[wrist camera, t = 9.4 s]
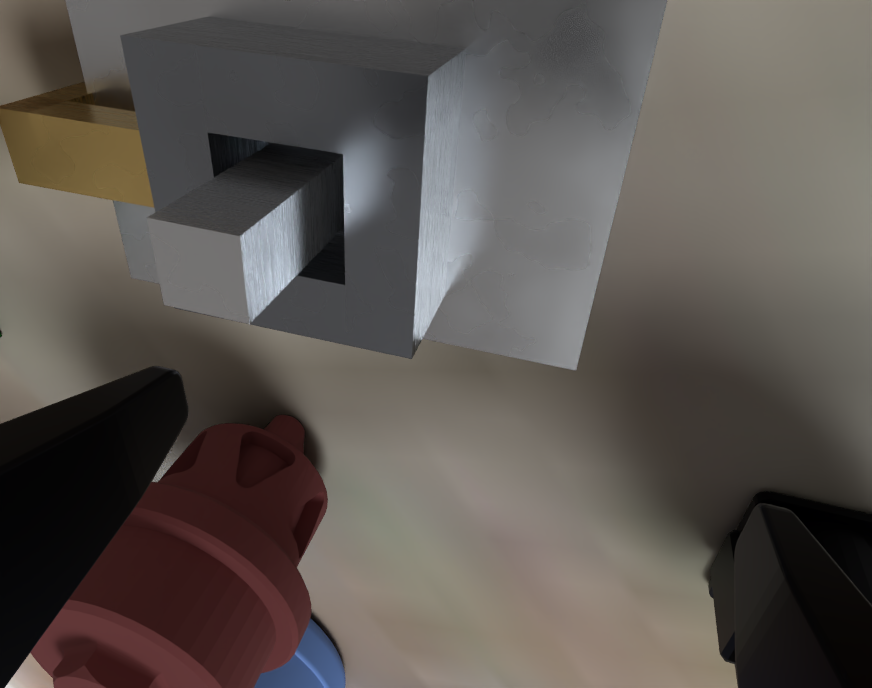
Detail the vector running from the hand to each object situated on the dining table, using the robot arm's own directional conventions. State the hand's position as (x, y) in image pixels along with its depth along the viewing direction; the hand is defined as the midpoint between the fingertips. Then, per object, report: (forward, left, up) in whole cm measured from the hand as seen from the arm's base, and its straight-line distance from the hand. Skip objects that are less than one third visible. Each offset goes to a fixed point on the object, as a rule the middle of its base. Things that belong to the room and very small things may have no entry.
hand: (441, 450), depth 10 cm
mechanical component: (+11, +16, -13) cm, 23 cm away
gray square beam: (+7, 0, -12) cm, 14 cm away
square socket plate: (+7, 0, -13) cm, 14 cm away
